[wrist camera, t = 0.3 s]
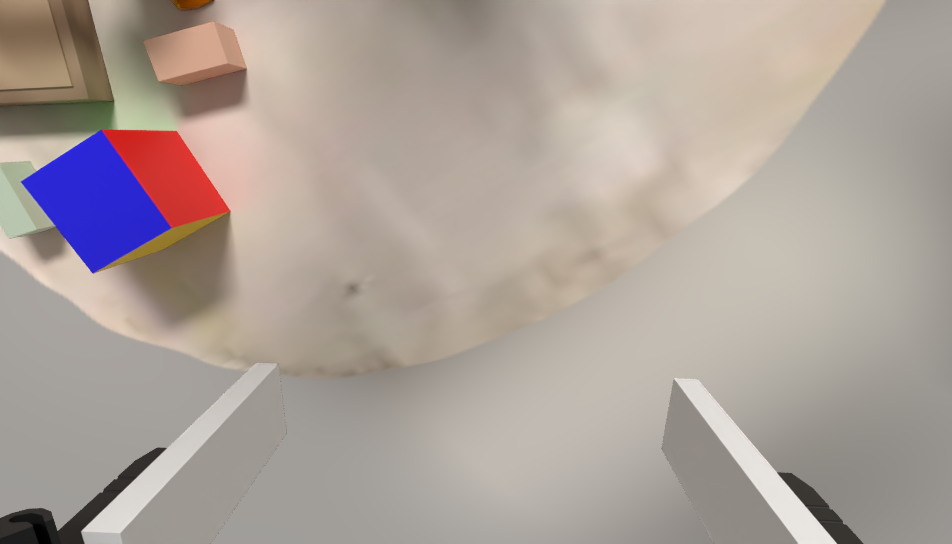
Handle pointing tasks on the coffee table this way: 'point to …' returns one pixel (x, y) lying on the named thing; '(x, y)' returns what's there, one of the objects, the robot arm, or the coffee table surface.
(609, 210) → the coffee table surface
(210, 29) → the terracotta brick
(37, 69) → the walnut slab
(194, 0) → the figurine
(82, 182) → the cube
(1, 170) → the sage brick
